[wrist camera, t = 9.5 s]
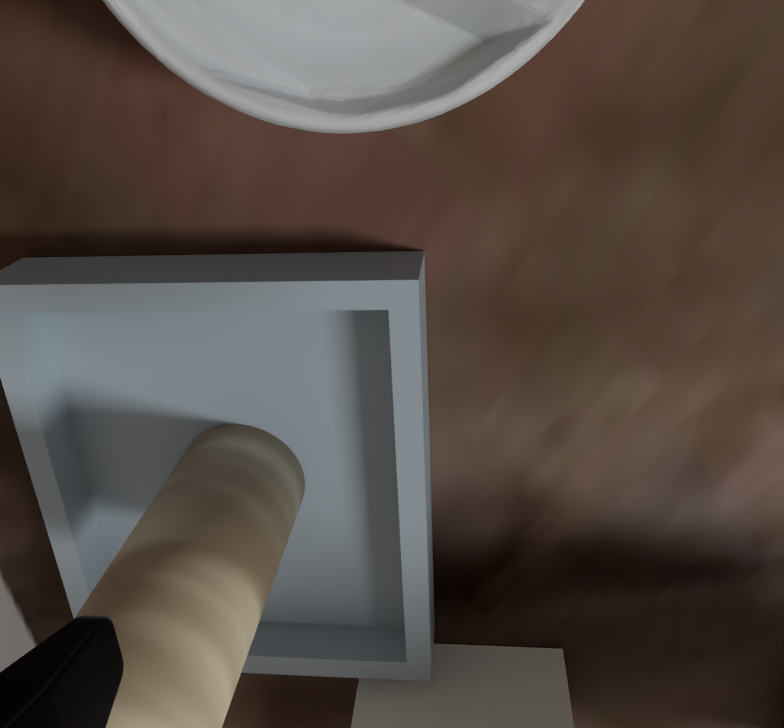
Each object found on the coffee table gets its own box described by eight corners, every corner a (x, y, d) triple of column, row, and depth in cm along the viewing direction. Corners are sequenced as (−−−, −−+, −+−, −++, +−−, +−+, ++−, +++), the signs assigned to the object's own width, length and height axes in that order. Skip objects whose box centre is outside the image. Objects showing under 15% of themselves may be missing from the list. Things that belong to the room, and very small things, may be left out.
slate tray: (424, 251, 21) (418, 279, 18) (434, 625, 27) (431, 681, 24) (23, 257, 22) (-28, 285, 20) (118, 613, 28) (88, 665, 26)
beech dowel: (298, 424, 22) (159, 749, 12) (310, 531, 24) (196, 891, 14) (172, 423, 23) (-60, 735, 13) (192, 527, 24) (1, 874, 15)
